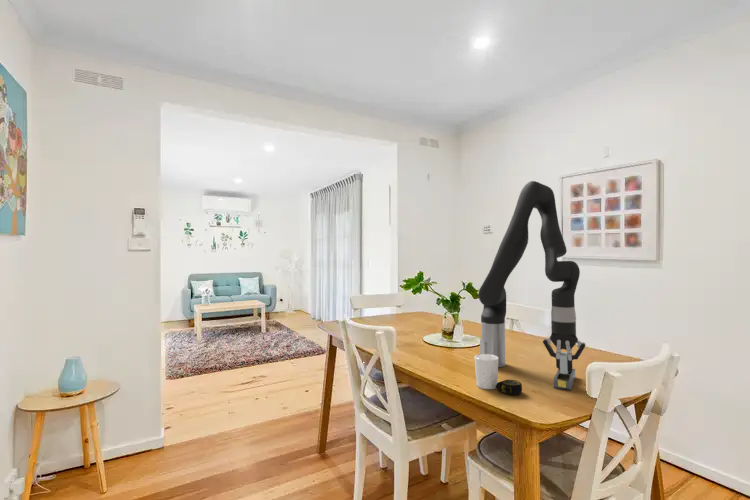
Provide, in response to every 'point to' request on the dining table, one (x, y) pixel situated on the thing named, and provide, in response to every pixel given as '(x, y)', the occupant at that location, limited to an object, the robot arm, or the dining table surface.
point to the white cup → (486, 370)
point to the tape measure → (509, 387)
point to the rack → (564, 380)
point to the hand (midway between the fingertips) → (564, 369)
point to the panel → (563, 363)
